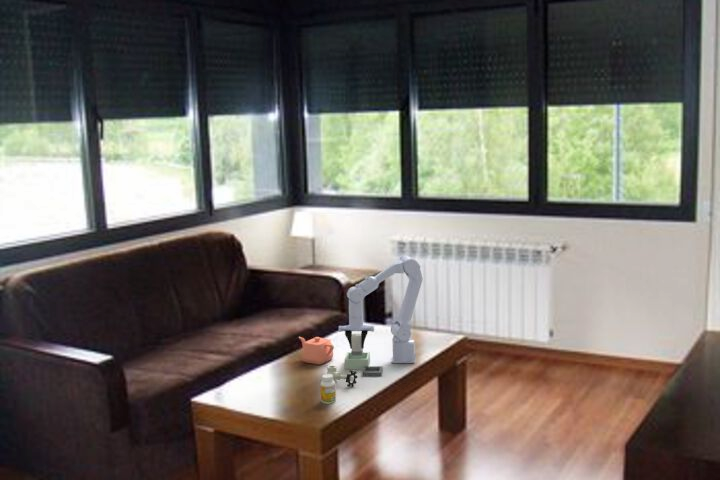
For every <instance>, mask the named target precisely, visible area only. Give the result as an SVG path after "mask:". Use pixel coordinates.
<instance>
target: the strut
mask: <svg viewBox="0 0 720 480" xmlns="http://www.w3.org/2000/svg"><path fill="white" fill-rule="evenodd" d="M351 343H352V349H351V351H350V352H351V356H362V354H363V352H364V350H363V349H364V348H363V349H362V347H361V345H362V338H361V333H352V336H351Z"/></svg>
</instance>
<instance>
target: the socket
mask: <svg viewBox="0 0 720 480" xmlns="http://www.w3.org/2000/svg"><path fill="white" fill-rule="evenodd" d="M383 369H384V367H383V366H382V365H381V366H375V365H374V366H371V365H369V366H364V368H363V369H362V377H382V375H383Z"/></svg>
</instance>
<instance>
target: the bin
mask: <svg viewBox="0 0 720 480" xmlns="http://www.w3.org/2000/svg"><path fill="white" fill-rule="evenodd" d="M370 354H371V352H370V351H367V352H365V351H363V354H362V356H351V351H349V352H348V351H347V352H346V354H345V357H344V369H345V370H363V368H364V366H370V363H371V355H370Z"/></svg>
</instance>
